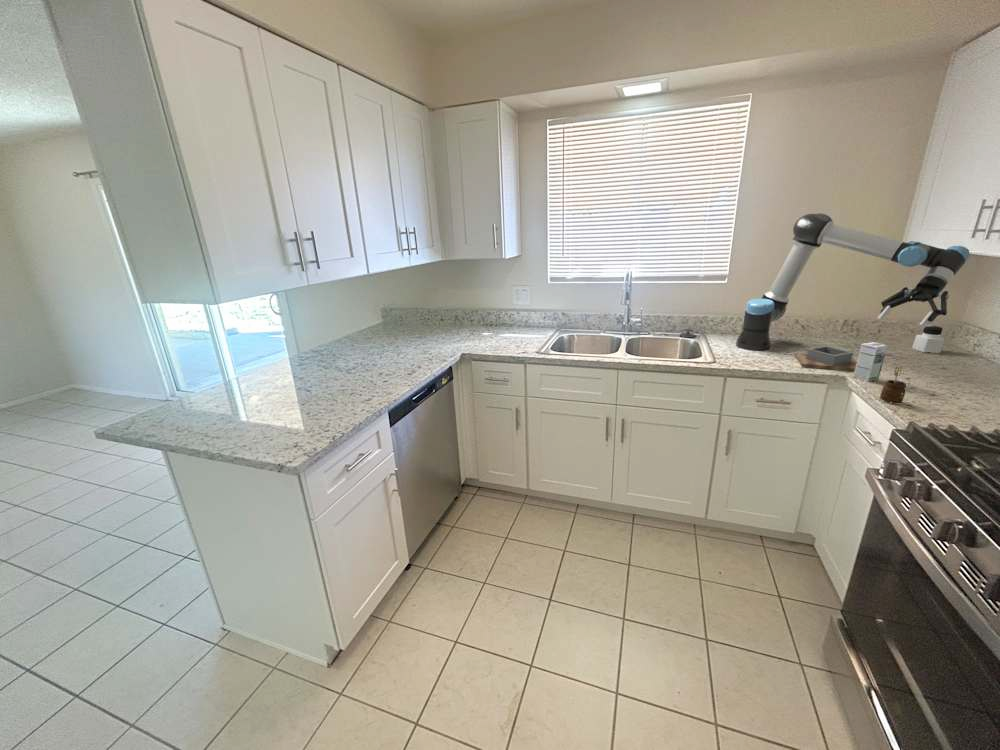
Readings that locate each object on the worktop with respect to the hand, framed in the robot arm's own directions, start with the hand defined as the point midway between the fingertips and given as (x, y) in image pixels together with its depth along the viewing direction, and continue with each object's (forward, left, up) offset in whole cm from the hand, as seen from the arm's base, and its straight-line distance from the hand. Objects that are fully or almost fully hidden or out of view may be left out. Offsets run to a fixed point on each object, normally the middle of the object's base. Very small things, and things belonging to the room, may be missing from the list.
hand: (899, 323), depth 163 cm
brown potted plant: (-7, -31, -22) cm, 38 cm away
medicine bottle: (+29, +46, -22) cm, 58 cm away
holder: (-17, +10, -20) cm, 28 cm away
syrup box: (-8, -7, -22) cm, 24 cm away
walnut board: (-17, +10, -22) cm, 29 cm away
